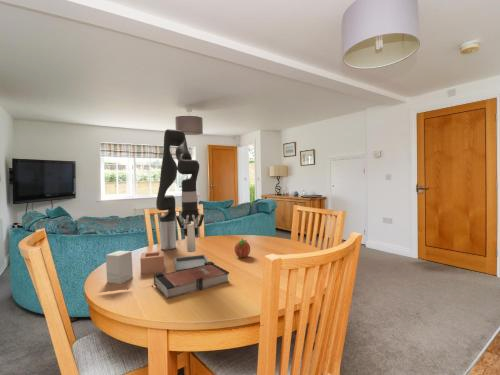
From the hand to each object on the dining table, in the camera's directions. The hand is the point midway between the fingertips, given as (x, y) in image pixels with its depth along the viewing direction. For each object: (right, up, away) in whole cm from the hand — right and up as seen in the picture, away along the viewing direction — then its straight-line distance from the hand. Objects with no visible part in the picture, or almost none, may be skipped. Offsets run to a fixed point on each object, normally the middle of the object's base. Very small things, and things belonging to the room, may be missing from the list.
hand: (190, 235), depth 134 cm
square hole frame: (-17, -16, -5) cm, 24 cm away
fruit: (+25, -15, +15) cm, 33 cm away
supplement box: (-26, -17, -17) cm, 36 cm away
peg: (0, -8, 0) cm, 8 cm away
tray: (0, -15, +1) cm, 15 cm away
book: (+5, -17, -21) cm, 28 cm away
